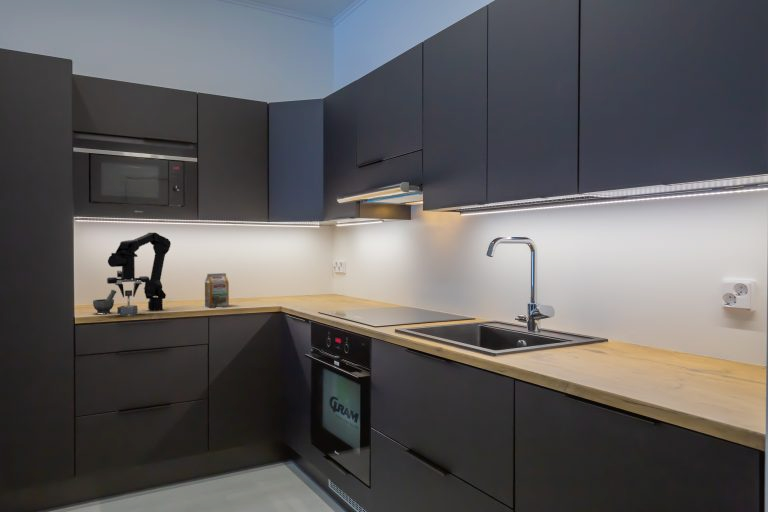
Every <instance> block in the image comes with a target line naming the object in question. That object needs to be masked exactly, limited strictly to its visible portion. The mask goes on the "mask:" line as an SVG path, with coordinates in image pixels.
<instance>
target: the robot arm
mask: <svg viewBox="0 0 768 512" xmlns="http://www.w3.org/2000/svg"><path fill="white" fill-rule="evenodd" d="M149 243H150V245H152V249H153V252H154V259H153V264H152V268H151V273H150V277H149V276H148V275H147V276H146V275H145V276H143V275H142V276H139V277H135V271H136V269H135V268H136V267H135V258H138V254H137V253H135V252H137V251H138V250H139V249H140V247H142V246H144V245H147V244H149ZM171 244H172V243H171V241H170V239H168V238H167V237H165V236H162V235H160V234H159V233H157V232H147V233H146V234H144V235H141V236H139V237H137V238H135V239H129V240H124V241H120V243H119V246H118V247H117V249H116V251H115V252H111V254H110V256H109V257H108V259H107V263H108V265H109V267H111V268H116V267H117V268H119V267H120V268H121V270H116V277H115V276H113V277H109V276H108V277H107V278H106V284H109V285H111V284H113V285H115V286H118V289H119V290H120V293H121V295H122V298H125V290H124V284H123V283H126V282H127V283H128V282H131V283H133V290H132V297H133V298H134V297H135V296H136V293H137V290H138V288H139V286H140V285H143V284H142V283H144V288H143V291H144V292H143V293H144V296H145V298H146V299H148V301H147V310H148V311H150V310H155V311H164V307H163V305H164V304H163V300H165V299H166V298H167V297H166V296H167V294H166V293H165V292H164V290H163V284H162V282H161V279H162V274H163V273H162V272H163V267H164V262H165V257H166V255H167V253H168V252H169V251H170V248H171ZM146 299H145V300H146Z"/></svg>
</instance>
